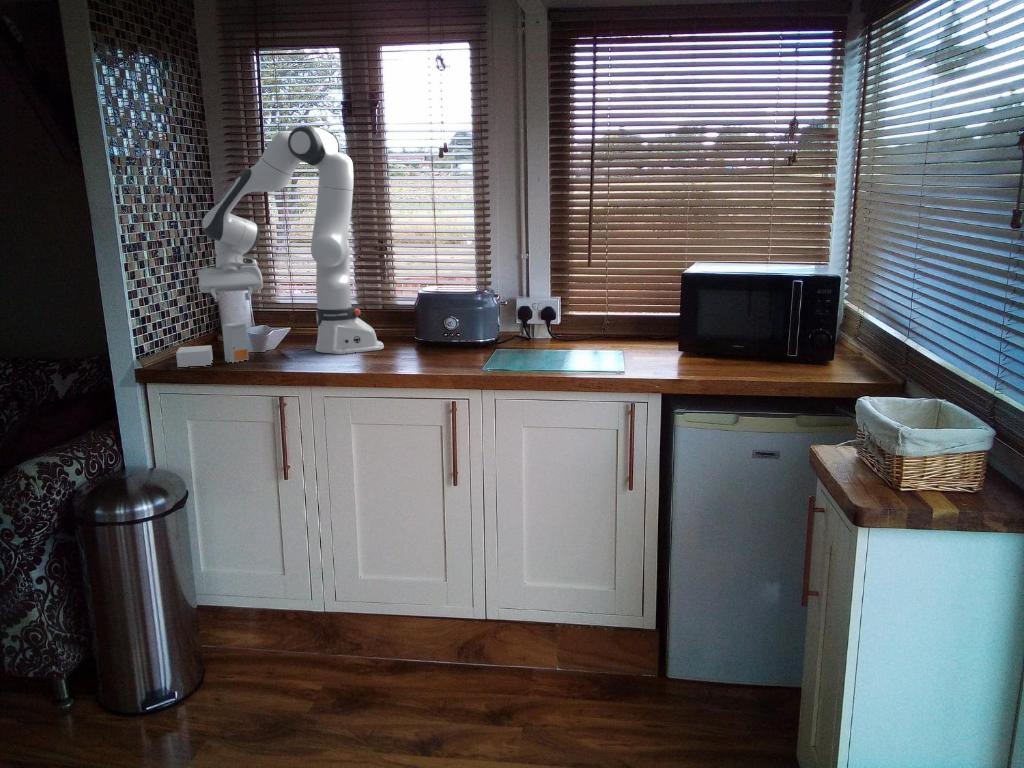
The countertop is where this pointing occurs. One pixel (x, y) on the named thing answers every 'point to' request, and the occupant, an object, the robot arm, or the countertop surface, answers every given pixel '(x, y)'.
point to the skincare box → (235, 342)
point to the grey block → (194, 356)
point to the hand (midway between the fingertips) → (232, 299)
